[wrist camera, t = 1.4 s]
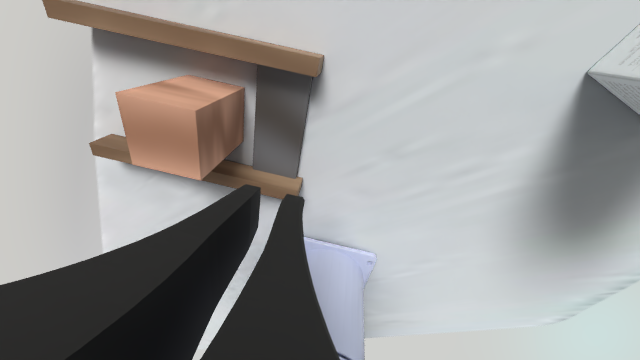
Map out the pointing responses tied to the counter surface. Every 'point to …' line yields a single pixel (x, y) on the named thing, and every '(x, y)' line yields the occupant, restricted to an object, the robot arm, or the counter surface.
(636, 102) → the skincare box
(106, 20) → the walnut channel
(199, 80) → the terracotta block
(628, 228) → the counter surface
